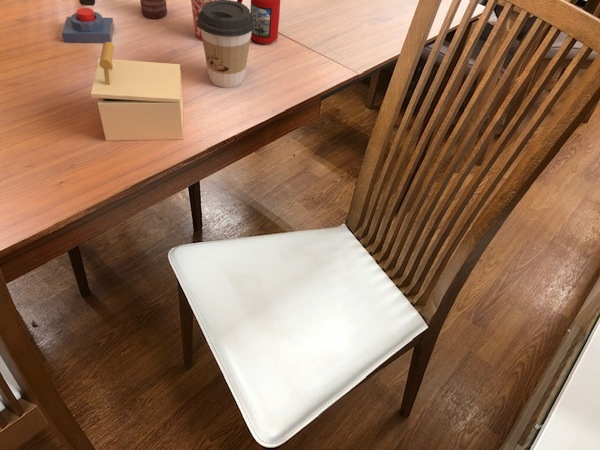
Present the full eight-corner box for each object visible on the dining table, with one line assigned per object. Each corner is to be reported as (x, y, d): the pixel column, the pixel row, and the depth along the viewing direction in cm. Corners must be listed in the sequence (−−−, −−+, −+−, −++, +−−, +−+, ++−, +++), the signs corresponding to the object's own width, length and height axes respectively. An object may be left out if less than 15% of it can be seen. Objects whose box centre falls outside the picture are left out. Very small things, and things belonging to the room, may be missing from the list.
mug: (196, 46, 117) (192, -14, 107) (186, 28, 123) (183, -31, 113) (248, 41, 121) (249, -17, 111) (237, 23, 127) (237, -33, 117)
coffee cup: (190, 84, 106) (185, 14, 95) (214, 60, 113) (212, -8, 103) (239, 99, 104) (240, 28, 93) (261, 73, 112) (264, 6, 101)
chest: (105, 140, 91) (97, 103, 85) (111, 104, 99) (104, 67, 93) (183, 139, 93) (180, 103, 88) (183, 103, 101) (180, 68, 95)
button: (76, 22, 112) (75, 14, 111) (79, 15, 114) (77, 7, 113) (94, 22, 113) (92, 15, 111) (95, 15, 115) (94, 7, 114)
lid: (91, 97, 84) (86, 67, 80) (98, 61, 92) (95, 32, 88) (179, 102, 88) (180, 74, 84) (179, 68, 95) (180, 40, 91)
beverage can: (243, 37, 122) (244, -14, 113) (264, 30, 126) (267, -20, 117) (262, 48, 119) (265, -3, 111) (283, 41, 123) (287, -10, 114)
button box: (63, 42, 112) (59, 25, 110) (69, 25, 118) (65, 8, 115) (111, 43, 114) (107, 26, 111) (114, 26, 120) (111, 9, 117)
